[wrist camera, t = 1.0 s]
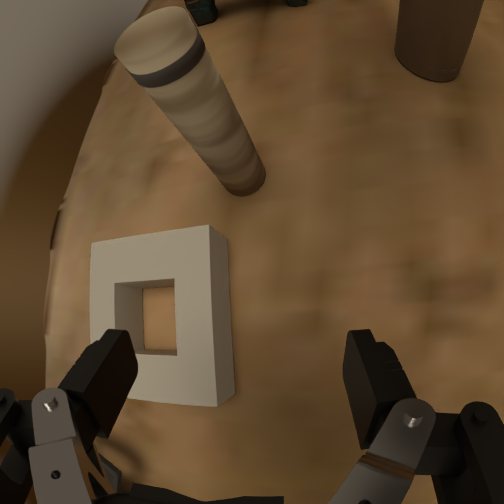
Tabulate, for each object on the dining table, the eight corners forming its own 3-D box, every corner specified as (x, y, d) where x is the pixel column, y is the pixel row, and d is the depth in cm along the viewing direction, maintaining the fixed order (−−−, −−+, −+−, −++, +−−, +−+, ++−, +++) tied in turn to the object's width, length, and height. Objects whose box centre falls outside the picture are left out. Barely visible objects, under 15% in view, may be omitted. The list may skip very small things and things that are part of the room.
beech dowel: (222, 160, 33) (122, 23, 14) (264, 153, 32) (191, -3, 13) (223, 199, 32) (105, 71, 13) (267, 193, 31) (184, 41, 12)
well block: (119, 252, 34) (91, 242, 29) (227, 238, 31) (209, 224, 26) (123, 385, 31) (94, 392, 26) (235, 393, 28) (217, 406, 23)
